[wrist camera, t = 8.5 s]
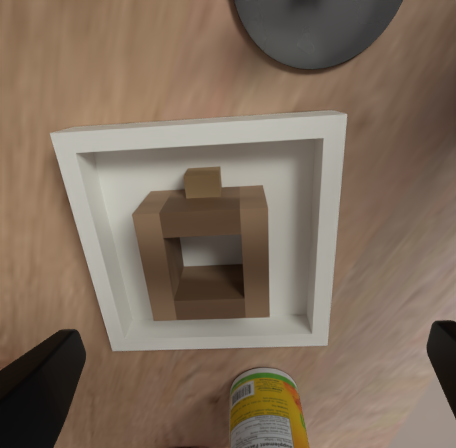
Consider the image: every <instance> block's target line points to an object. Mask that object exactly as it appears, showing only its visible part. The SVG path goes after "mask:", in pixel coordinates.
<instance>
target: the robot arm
mask: <svg viewBox="0 0 456 448" xmlns="http://www.w3.org/2000/svg"><path fill="white" fill-rule="evenodd" d="M427 354H428V357H429V359H430V361H431V364H432V366H433V368H434V371H435V373H436V375H437V377H438V380H439V382H440V384H441V387H442V389H443V391H444V394H445V396H446V398H447V400H448V403H449V405H450V407H451V410H452V412H453V414H454V416H455V418H456V322H455V321H451V320H443V321H435V322H434V323H433V324H432V327H431V330H430V334H429V338H428V342H427ZM85 360H86V351H85V348H84V345H83V342H82V340H81V337H80V334H79V332H78V331H77V330H75V329H63V330H59V331H58V332H56V333H55V334H53V335H52V336H50V337H49V338H47V339H46V340H44V341H43V342H42V343H40V344H39V345H37V346H36V347H34V348H33V349H31V350H30V351H28V352H27V353H25V354H24V355H23V356H21V357H20V358H18V359H17V360H15V361H14V362H12V363H11V364H9V365H8V366H6V367H5V368H3V369H2V370H1V371H0V448H53V447H54V445H55V443H56V441H57V438H58V436H59V434H60V432H61V429H62V427H63V424H64V422H65V419H66V417H67V414H68V411H69V408H70V405H71V402H72V399H73V396H74V393H75V390H76V387H77V384H78V381H79V378H80V375H81V372H82V369H83V366H84V363H85Z"/></svg>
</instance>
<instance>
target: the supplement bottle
mask: <svg viewBox="0 0 456 448" xmlns="http://www.w3.org/2000/svg"><path fill="white" fill-rule="evenodd" d="M229 448H309V443H308V438H307V433H306V428H305V423H304V418H303V413H302V408H301V403H300V398H299V393H298V389H297V386H296V384H295V382H294V381H293V379H292V378H291V377H290V376H289V375H287V374H286V373H284V372H282V371H280V370H277V369H274V368H255V369H252V370H249V371H246V372H244V373H242V374H241V375H239V376H238V377H237V378H236V379H235V381H234V382H233V384H232V386H231V390H230V416H229Z"/></svg>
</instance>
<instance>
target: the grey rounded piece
mask: <svg viewBox="0 0 456 448" xmlns="http://www.w3.org/2000/svg"><path fill="white" fill-rule="evenodd" d="M402 1H403V0H234V2H235V6H236V9H237V12H238V15H239V18H240V20H241V22H242V24H243V26H244V28H245V30H246V31H247V33H248V34H249V36H250V37H251V39H252V40H253V41H254V42H255V44H256V45H257V46H258V47H259V48H260V49H261V50H262V51H263V52H265V53H266V54H267V55H268V56H270V57H271V58H273V59H274V60H276V61H278V62H280V63H283V64H285V65H288V66H291V67H294V68H301V69H319V68H326V67H330V66H334V65H337V64H340V63H342V62H345V61H347V60H349V59H351V58H352V57H354V56H356V55H358V54H359V53H361V52H362V51H363V50H365V49H366V48H367V47H368V46H370V45H371V44H372V43H373V42H374V41H375V40H376V39H377V38H378V37H379V36H380V35H381V33H382V32H383V31H384V30H385V29H386V28H387V26H388V25H389V23H390V22H391V20H392V19H393V17H394V16H395V14H396V13H397V11H398V9H399V7H400V5H401V3H402Z"/></svg>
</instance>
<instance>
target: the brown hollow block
mask: <svg viewBox="0 0 456 448" xmlns="http://www.w3.org/2000/svg"><path fill="white" fill-rule="evenodd" d="M183 177H184V185H185V189H182V190H163V191H150V193H149V194H148V195H147V196H146V198H145V199H144V200H143V201H142V203H141V204H140V205H139V206H138V208H137V209H136V210H135V211H134V213H133V214H132V218H133V223H134V228H135V232H136V237H137V242H138V247H139V252H140V257H141V261H142V266H143V271H144V276H145V281H146V286H147V291H148V295H149V300H150V305H151V310H152V315H153V320H154V321H172V320H203V319H235V318H266V317H270V303H269V232H268V205H267V201H266V197H265V193H264V188H263V185H256V186H237V187H222V182H221V169H220V166H219V167H202V168H188V169H187V171H186V173H185V174H184V176H183ZM238 234H241V238H242V257H243V264H231V265H206V266H184V263H183V256H182V249H181V242H180V237H194V236H216V235H238Z"/></svg>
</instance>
